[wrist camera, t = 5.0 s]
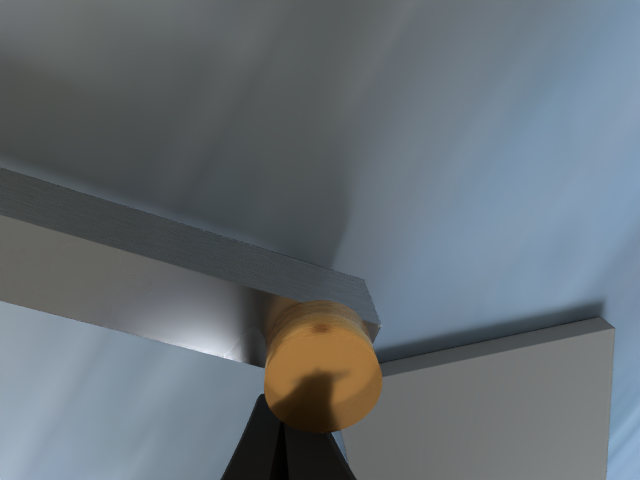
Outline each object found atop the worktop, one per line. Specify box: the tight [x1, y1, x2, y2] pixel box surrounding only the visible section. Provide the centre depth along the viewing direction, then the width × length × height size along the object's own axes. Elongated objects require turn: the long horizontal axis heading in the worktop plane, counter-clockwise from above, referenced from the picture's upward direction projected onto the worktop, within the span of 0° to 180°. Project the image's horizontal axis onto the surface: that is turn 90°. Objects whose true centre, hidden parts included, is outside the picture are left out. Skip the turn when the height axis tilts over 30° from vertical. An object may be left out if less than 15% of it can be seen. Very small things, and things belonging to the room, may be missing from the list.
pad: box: [341, 317, 615, 480], centre depth 14 cm, size 8×8×1 cm
